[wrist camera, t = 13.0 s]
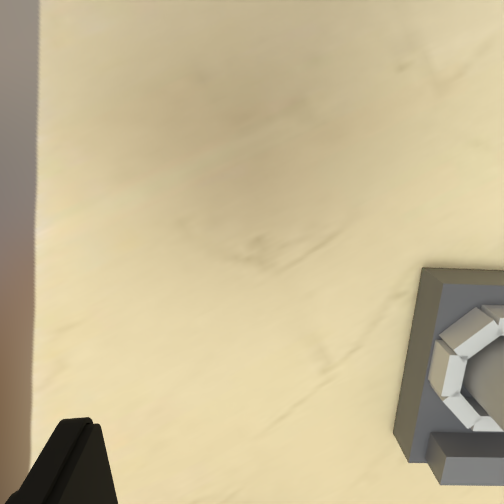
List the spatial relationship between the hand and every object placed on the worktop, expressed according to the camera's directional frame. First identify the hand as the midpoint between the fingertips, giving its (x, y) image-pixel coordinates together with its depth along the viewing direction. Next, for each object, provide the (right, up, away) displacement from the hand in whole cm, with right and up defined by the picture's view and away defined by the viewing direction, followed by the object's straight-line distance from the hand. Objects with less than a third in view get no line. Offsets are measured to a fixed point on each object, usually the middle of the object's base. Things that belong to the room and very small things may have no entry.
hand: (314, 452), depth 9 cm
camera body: (+19, -6, +31) cm, 37 cm away
